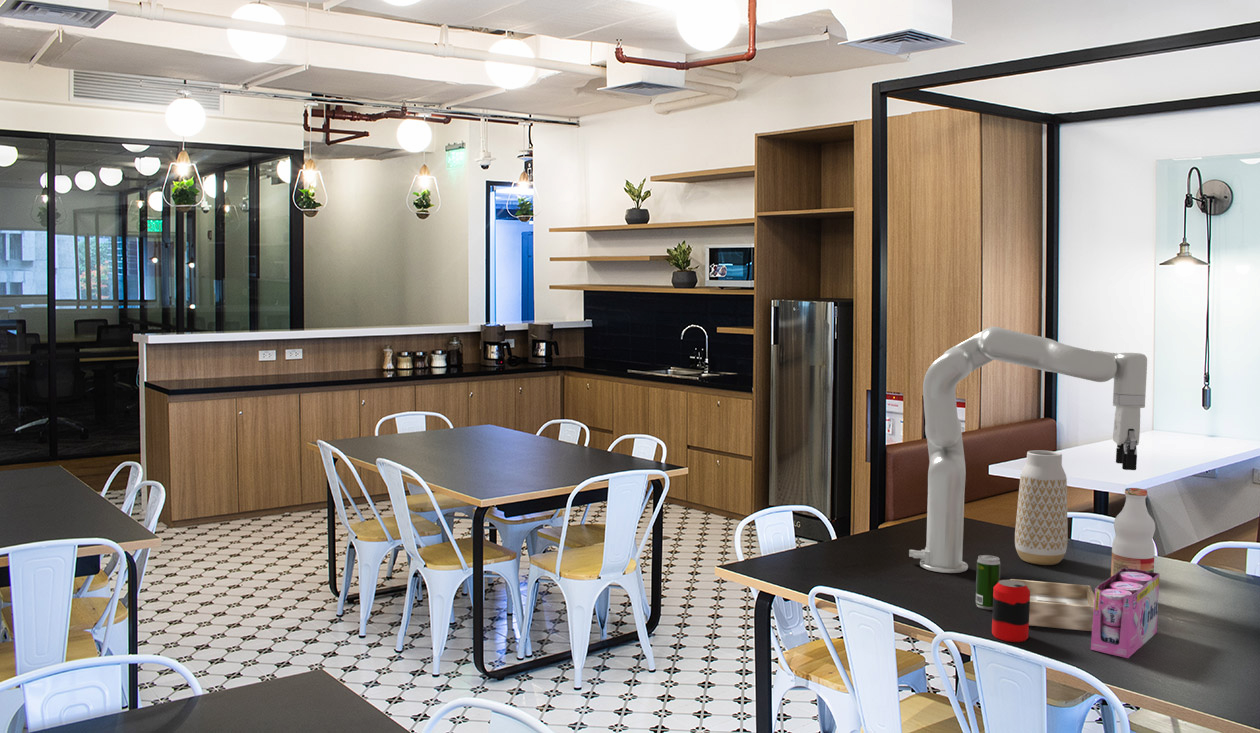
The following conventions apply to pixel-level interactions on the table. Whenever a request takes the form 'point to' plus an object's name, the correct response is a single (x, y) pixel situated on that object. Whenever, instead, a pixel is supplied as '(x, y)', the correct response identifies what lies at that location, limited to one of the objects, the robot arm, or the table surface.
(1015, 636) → the soda can
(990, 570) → the beer can
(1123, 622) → the gum box
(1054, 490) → the vase
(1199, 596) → the table surface
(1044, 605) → the crate
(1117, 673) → the table surface
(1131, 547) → the fruit juice
